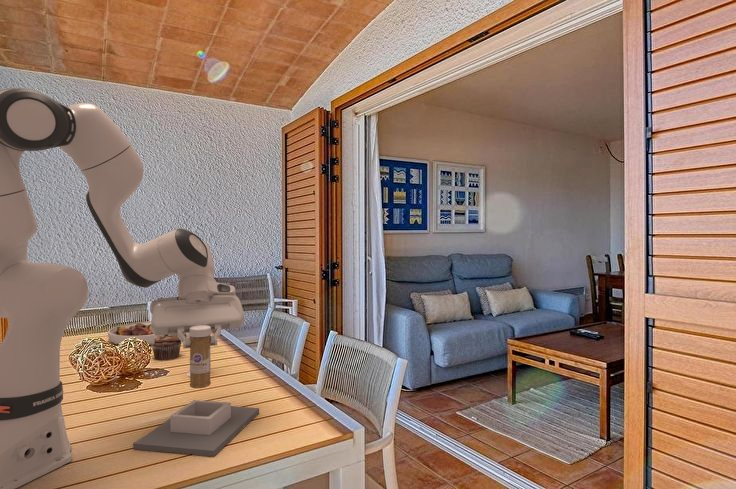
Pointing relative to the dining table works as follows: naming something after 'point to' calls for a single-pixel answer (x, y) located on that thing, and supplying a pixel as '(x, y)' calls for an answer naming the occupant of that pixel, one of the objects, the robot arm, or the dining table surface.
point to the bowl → (133, 332)
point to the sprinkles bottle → (200, 356)
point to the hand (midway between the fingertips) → (200, 345)
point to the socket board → (198, 428)
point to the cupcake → (166, 347)
